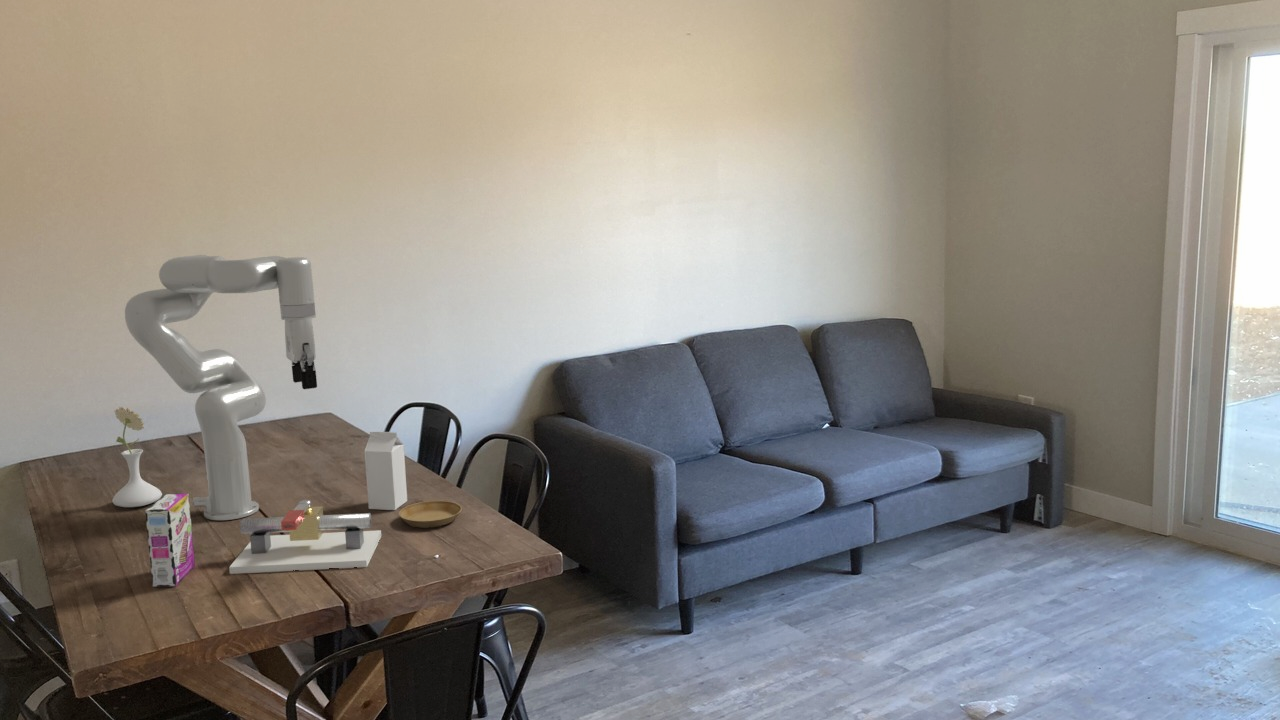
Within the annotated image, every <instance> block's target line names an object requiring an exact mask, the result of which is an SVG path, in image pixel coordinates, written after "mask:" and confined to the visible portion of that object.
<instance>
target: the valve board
mask: <svg viewBox="0 0 1280 720" xmlns="http://www.w3.org/2000/svg"><path fill="white" fill-rule="evenodd" d="M363 535H364V543H363V545H362V547H361V549H346V537H345V531H341V532H339V531H336V532H323V534H322V535H321V537H320V538H319V540H301V541H290V535H289V534H277V535H276V534H275V535H271V534H270V539H271V547H270V549H269V550H268V551H267V553H261V554H252V552H251V542H248V544H247V545H246V546H245V547H244V548H243V550H242V551H241V552H240V554H238V556H237V557H236V558H235V560H234V561H233V562H232V563H231V564H230V566H229V568H228V569H229V574H230V575H234V574H235V575H239V574H255V573H256V574H257V573H275V572H278V573H279V572H295V570H299V571H314V570H316V571H317V570H330V569H329V568H339V569H354V567H357V569H358V568H359V569H360V568H367V567H368V566H369V564H370V561H371V560H372V557H373V555H374V553H375V551H376V548H377V546H378V544H379V543H378V542H380V541H381V538H382V530H381V529H380V530H379V529H377V530H363ZM379 540H380V541H379ZM293 570H294V571H293Z"/></svg>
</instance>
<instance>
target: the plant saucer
mask: <svg viewBox="0 0 1280 720" xmlns="http://www.w3.org/2000/svg"><path fill="white" fill-rule="evenodd" d="M462 509H463V508H462V505H460V504H459V503H456V502H453V501H446V500H427V501H422V502H421V501H420V502H417V503H412V504H409V505H407V506H405V507H403V508H402V509H400V510H399V512H398V516H399V517H400V518H401V519H402V520H403V521H404V522H405V523H407V524H408V525H410V526H411V527H414V528H420V529H421V528H422V529H423V528H424V529H427V528H428V529H430V528H429V527H431V528H437V527H442V525H443V526H447V525H448V524H450V523H452V522H454V520H455V519H457V517H458V516H459V515H460V513H461V512H462Z"/></svg>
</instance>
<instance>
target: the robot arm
mask: <svg viewBox="0 0 1280 720" xmlns="http://www.w3.org/2000/svg"><path fill="white" fill-rule="evenodd" d="M312 271H313V270H312V264H311V260H310V259H308V258H307V257H302V256H299V257H298V256H297V257H296V256H295V257H293V256H292V257H284V256H280V255H279V256H277V255H275V256H274V255H270V256H263V257H253V258H247V259H231V260H229V259H228V260H227V259H226V258H224V257H222V256H219V255H213V256H212V255H211V256H210V255H206V254H196V255H186V256H180V257H179V256H178V257H173V258H171V259H168V260H167V261H165V262H164V263H163V264H162V265H161V266H160V268H159V272H158V278H159V281H160V282H161V284H162V286H164V288H160V289H154V290H147V291H144V292H140V293H137V294H136V295H134V296H132V297H131V298H130V299H129V300H128V301H127V303H126V304H125V307H124V318H125V324H126V327H127V329H128V331H129V333H130V336H132V337H133V339H134V340H135V341H136V342H137V343H138V345H140V346H141V347H142V348H143V349H144V350H145V351H146V352H148V354H149V355H150V356H152V357H153V358H154V359H155V361H156V362H157V363H158V364H159V366H161V368H162V370H164V372H165V373H167V375H168V376H169V377H170V378H171V379H172V380H173V382H174V383H175V384H176V385H177V386H178V387H179V388H180V389H181V390H182V391H184V392H185V393H187V394H197V393H201V394H200V395H199V396H198V397H197V399H196V401H195V406H194V411H195V416H196V419H197V422H198V425H199V428H200V432H201V438H202V443H203V444H202V446H203V452H204V459H205V460H204V461H205V469H206V478H207V487H208V490H207V491H208V495H206V496H205V497H202V496H199V497H194V496H193V497H192V505H193V507H195V508H201V507H204V508H205V509H204V510H203V516H204V518H206V519H208V520H211V521H231V520H236V519H243V518H245V517H249V516H251V515H254V514H255V513H256V512H258V511H259V510H260V505H259V503H258V502H257V501H255V500H252V492H251V491H252V490H251V483H250V470H249V461H248V449H247V443H246V437H245V436H244V433H243V432H242V430H241V429H240V427H239V426H238V423H239V422H241V421H245V420H249V419H250V418H253V417H256V416H258V415H260V413H261V412H263V410H264V408H265V406H266V402H267V401H266V400H267V399H266V395H265V392H264V390H263V388H262V387H261V384H260V383H259V382H258V381H257V380H256V378H254V377H253V376H252V375H251V373H250V372H249V371H248V370H247V368H246V367H245V366H243V364H242V363H241V362H240V361H239V359H238V358H236V356H234V354H232V353H231V352H229V351H227V350H225V349H221V348H216V349H208V350H204V351H200V350H197V349H196V348H195V347H194V346H193V345H192V344H191V342H189V340H188V339H187V338H186V337H185V336H184V335H183V334H181V333H180V332H178V331H176V330H174V329H173V328H170V327H169V326H167V325H166V324H171V323H176V322H181V321H182V322H183V321H186V320H189V319H192V318H194V317H195V316H196V315H197V314H198V313H199V312H200V311H201V309H202V308H203V306H204V305H205V304H206V302H207V301H208V300H209V299H210V297H211V296H212V294H213V293H218V294H249V293H250V294H252V293H258V292H262V291H269V290H276V289H278V298H279V308H280V310H279V311H280V317H281V318H280V319H281V320H282V321H284V336H285V337H284V340H285V354H286V355H285V357H286V358H287V359H288V360H289V361H291V372H292V381H293V382H294V383H295V384H296V383H301V388H302V389H303V390H310V389H316V388H317V387H318V381H317V372H316V365H315V360H316V355H317V354H316V344H315V343H316V342H315V335H314V326H313V319H314V318H316V317H317V315H316V314H317V313H316V303H315V295H314V294H315V293H314V282H313V273H312Z"/></svg>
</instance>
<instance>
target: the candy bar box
mask: <svg viewBox="0 0 1280 720" xmlns="http://www.w3.org/2000/svg"><path fill="white" fill-rule="evenodd" d="M144 512H145V522H146V533H147V543H148V551H149V562H150V563H149V564H150V572H151V574H150V575H151V580H152V581H151V582H152V583H151V584H152V588H174V587H177V586H178V585H179V583H180V582H182V580H183V579H185V577H186V576H187V575H188V574H189V573H190V572H191V571H192V569H194V568H195V567H196V564H195V563H196V562H195V552H194V542H193V530H192V516H191V507H190V495H189V493H173V494H172V493H169V494H168V493H167V494H165V495H163V496H161V498H160V499H158V500H157V501H155V502H154V504H153V503H152V505H150V507H148V508H147V509H146V510H144Z"/></svg>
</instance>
